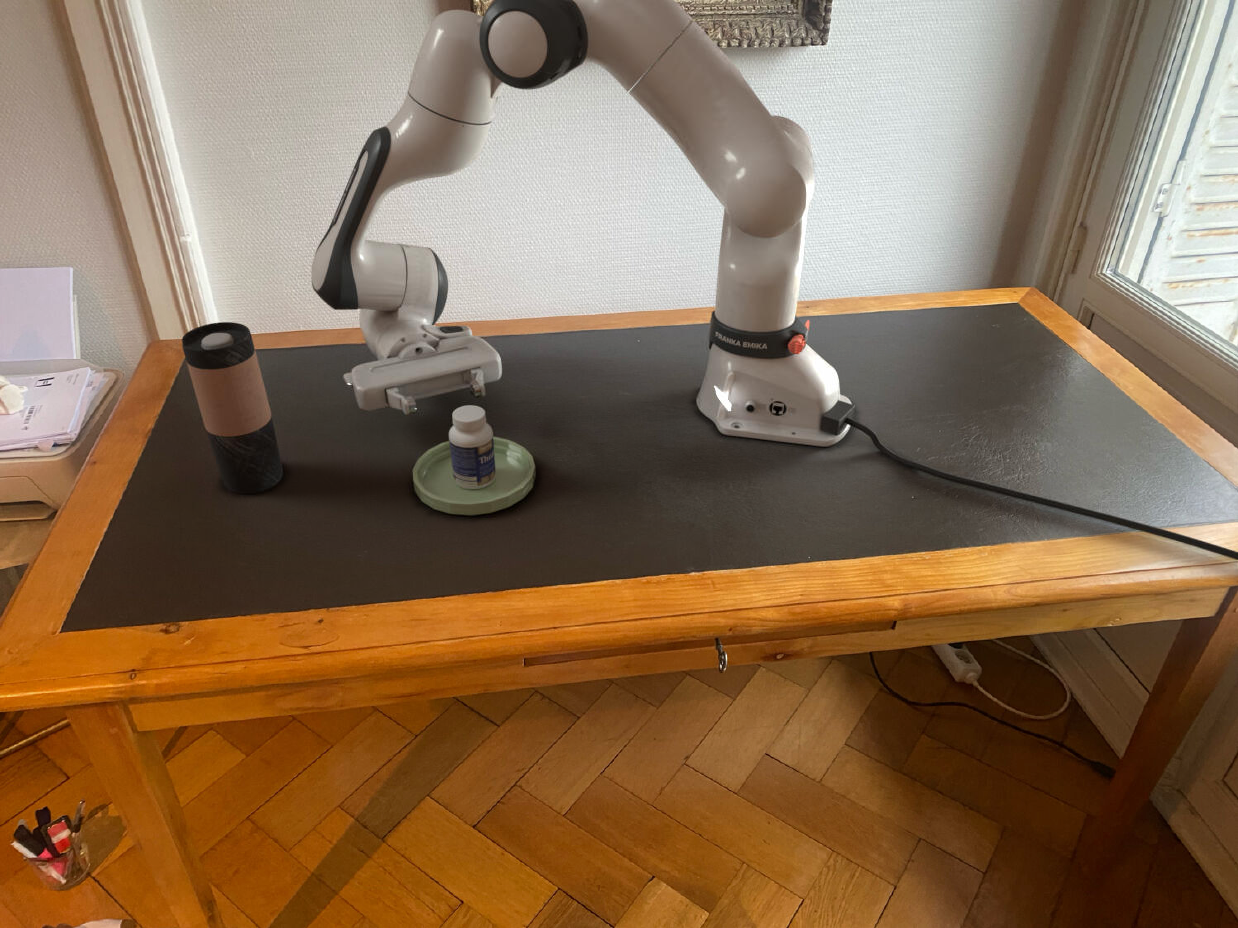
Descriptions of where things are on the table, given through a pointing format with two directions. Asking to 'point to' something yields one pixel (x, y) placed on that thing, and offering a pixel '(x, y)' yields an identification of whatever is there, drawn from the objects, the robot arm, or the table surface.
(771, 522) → the table surface
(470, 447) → the pill bottle
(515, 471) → the dish
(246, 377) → the travel mug
